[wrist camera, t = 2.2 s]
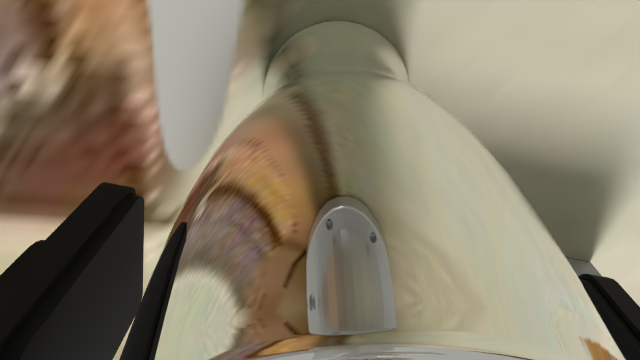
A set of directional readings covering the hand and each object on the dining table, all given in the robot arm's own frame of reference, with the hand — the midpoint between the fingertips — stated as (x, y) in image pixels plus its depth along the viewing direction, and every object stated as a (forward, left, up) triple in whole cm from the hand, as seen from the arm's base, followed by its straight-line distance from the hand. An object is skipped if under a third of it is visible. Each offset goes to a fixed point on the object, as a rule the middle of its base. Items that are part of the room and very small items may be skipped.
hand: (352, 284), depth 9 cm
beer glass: (-1, 0, -11) cm, 10 cm away
